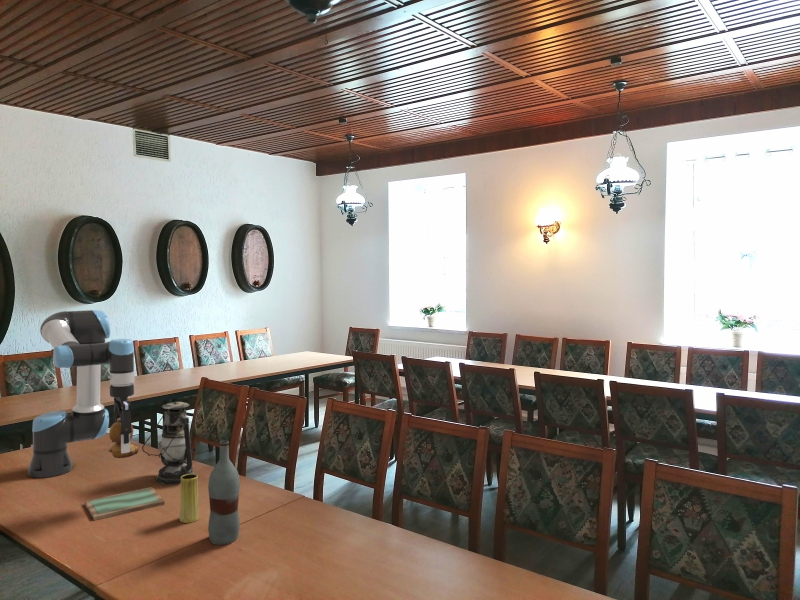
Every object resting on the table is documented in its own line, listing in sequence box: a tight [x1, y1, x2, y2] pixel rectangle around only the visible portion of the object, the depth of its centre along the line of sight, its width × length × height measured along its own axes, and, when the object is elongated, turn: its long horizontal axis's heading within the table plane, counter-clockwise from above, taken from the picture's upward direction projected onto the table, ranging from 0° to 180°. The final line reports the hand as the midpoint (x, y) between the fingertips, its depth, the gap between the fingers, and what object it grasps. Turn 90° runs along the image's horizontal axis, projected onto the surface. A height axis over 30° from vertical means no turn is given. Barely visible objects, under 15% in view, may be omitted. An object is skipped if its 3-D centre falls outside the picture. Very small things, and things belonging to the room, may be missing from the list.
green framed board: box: [84, 486, 166, 521], centre depth 199 cm, size 16×22×1 cm
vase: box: [179, 473, 200, 524], centre depth 187 cm, size 6×6×14 cm
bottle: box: [207, 440, 241, 546], centre depth 174 cm, size 9×9×30 cm
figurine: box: [108, 418, 139, 459], centre depth 197 cm, size 10×8×15 cm
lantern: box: [141, 401, 197, 485], centre depth 222 cm, size 19×19×30 cm
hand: (122, 448), depth 197 cm, fingers closed on figurine, 9 cm apart
